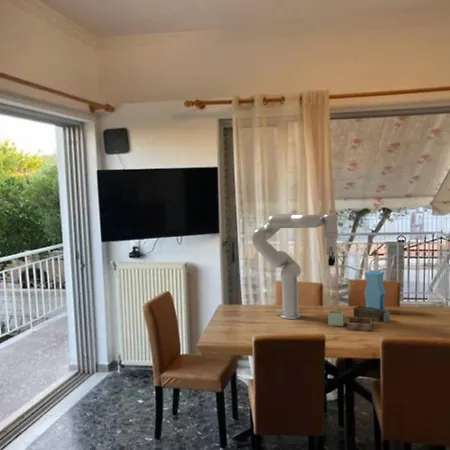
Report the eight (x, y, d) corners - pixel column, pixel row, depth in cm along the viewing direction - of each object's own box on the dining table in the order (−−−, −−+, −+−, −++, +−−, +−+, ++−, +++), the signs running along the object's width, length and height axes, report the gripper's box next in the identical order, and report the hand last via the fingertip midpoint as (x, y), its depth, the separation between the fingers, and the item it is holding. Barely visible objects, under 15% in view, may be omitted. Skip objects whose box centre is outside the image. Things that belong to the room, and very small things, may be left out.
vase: (369, 308, 290) (369, 269, 288) (385, 310, 284) (385, 271, 282) (364, 312, 282) (364, 272, 280) (380, 314, 276) (380, 273, 274)
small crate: (328, 325, 255) (328, 313, 255) (329, 322, 262) (329, 310, 261) (343, 326, 253) (342, 314, 252) (343, 323, 259) (343, 311, 259)
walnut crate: (347, 329, 247) (347, 323, 246) (348, 322, 260) (348, 316, 260) (372, 331, 243) (372, 324, 242) (372, 324, 256) (372, 318, 256)
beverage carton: (384, 323, 257) (383, 312, 257) (352, 318, 270) (352, 307, 270) (389, 320, 263) (389, 309, 262) (359, 315, 276) (359, 304, 276)
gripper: (325, 234, 273) (326, 262, 274) (323, 236, 256) (324, 266, 257) (338, 233, 271) (339, 262, 272) (336, 236, 254) (337, 266, 255)
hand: (331, 264), depth 264 cm, fingers open, 9 cm apart
